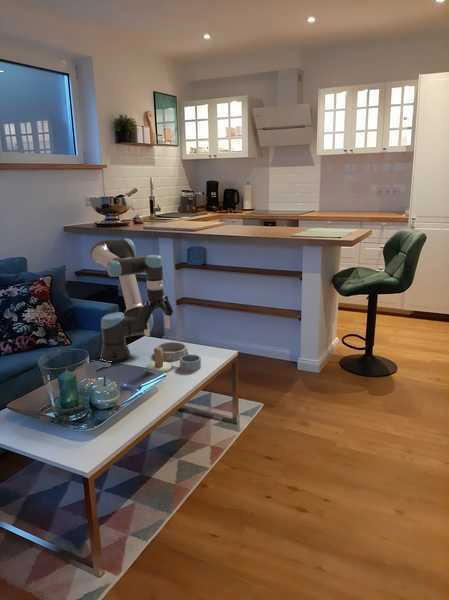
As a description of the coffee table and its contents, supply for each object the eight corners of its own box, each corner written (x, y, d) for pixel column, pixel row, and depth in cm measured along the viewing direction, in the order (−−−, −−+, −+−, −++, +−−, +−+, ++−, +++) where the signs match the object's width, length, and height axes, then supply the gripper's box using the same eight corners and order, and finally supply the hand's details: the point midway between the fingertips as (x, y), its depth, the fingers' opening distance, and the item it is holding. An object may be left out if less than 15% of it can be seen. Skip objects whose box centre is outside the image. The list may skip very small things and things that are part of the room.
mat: (140, 371, 233) (140, 369, 233) (159, 362, 243) (159, 361, 243) (159, 377, 225) (159, 376, 225) (178, 368, 235) (178, 367, 235)
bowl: (176, 369, 234) (175, 359, 233) (189, 363, 242) (189, 353, 240) (191, 374, 228) (191, 363, 227) (204, 367, 236) (204, 357, 234)
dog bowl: (190, 350, 260) (190, 341, 258) (184, 363, 242) (184, 353, 241) (159, 349, 262) (159, 340, 260) (151, 362, 244) (150, 352, 242)
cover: (141, 369, 233) (140, 349, 230) (159, 361, 242) (158, 342, 239) (159, 375, 226) (158, 355, 223) (176, 367, 235) (175, 347, 232)
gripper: (141, 295, 212) (143, 340, 217) (179, 284, 231) (181, 326, 236) (129, 292, 216) (132, 337, 222) (168, 282, 235) (169, 324, 241)
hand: (157, 331), depth 229 cm, fingers open, 13 cm apart
